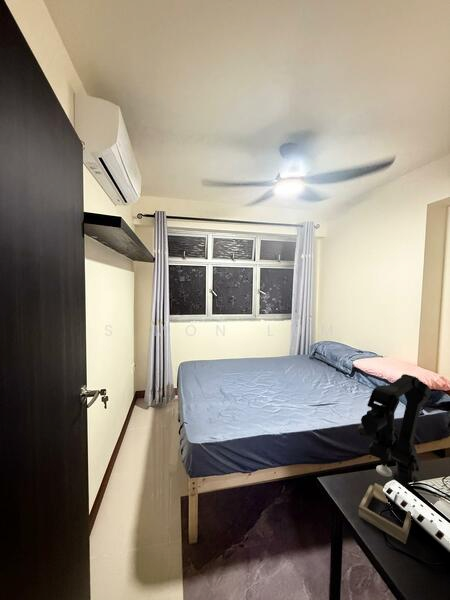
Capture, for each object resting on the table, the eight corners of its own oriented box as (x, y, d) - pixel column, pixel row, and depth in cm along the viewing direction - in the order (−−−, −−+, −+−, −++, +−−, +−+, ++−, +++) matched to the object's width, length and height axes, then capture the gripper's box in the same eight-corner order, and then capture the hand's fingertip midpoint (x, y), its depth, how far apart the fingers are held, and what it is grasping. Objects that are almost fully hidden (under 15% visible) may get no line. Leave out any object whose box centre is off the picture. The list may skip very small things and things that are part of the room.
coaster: (375, 484, 98) (375, 482, 98) (396, 494, 93) (396, 493, 93) (369, 495, 93) (369, 493, 93) (391, 506, 88) (391, 505, 88)
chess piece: (394, 477, 90) (395, 450, 89) (379, 475, 90) (379, 449, 90) (388, 467, 94) (388, 441, 94) (374, 466, 95) (374, 440, 95)
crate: (370, 493, 94) (370, 484, 94) (413, 515, 85) (413, 505, 85) (358, 516, 85) (358, 506, 85) (405, 543, 76) (405, 532, 75)
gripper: (367, 406, 104) (367, 442, 105) (352, 425, 90) (352, 466, 91) (400, 415, 96) (399, 454, 97) (388, 438, 82) (388, 483, 83)
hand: (384, 463), depth 92 cm, fingers closed on chess piece
